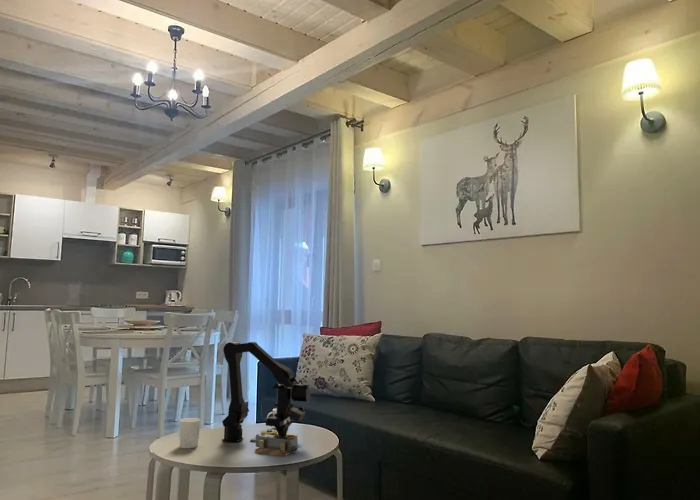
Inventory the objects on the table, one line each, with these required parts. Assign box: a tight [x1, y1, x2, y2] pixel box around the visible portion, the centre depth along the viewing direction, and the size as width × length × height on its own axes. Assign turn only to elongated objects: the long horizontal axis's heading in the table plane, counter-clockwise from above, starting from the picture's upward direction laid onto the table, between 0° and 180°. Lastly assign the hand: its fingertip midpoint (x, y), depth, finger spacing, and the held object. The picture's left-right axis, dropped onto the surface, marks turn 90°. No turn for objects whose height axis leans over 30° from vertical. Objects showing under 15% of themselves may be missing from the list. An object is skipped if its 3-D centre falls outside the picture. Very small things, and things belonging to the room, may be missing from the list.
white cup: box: [178, 417, 201, 449], centre depth 205 cm, size 8×8×10 cm
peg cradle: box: [255, 440, 293, 457], centre depth 200 cm, size 12×10×4 cm
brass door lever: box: [260, 429, 298, 439], centre depth 216 cm, size 16×7×3 cm, turn 69°
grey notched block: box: [255, 433, 299, 452], centre depth 200 cm, size 18×4×4 cm, turn 69°
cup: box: [266, 407, 277, 429], centre depth 240 cm, size 7×10×8 cm
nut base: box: [250, 436, 256, 443], centre depth 217 cm, size 11×11×1 cm
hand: (282, 440), depth 210 cm, fingers closed
